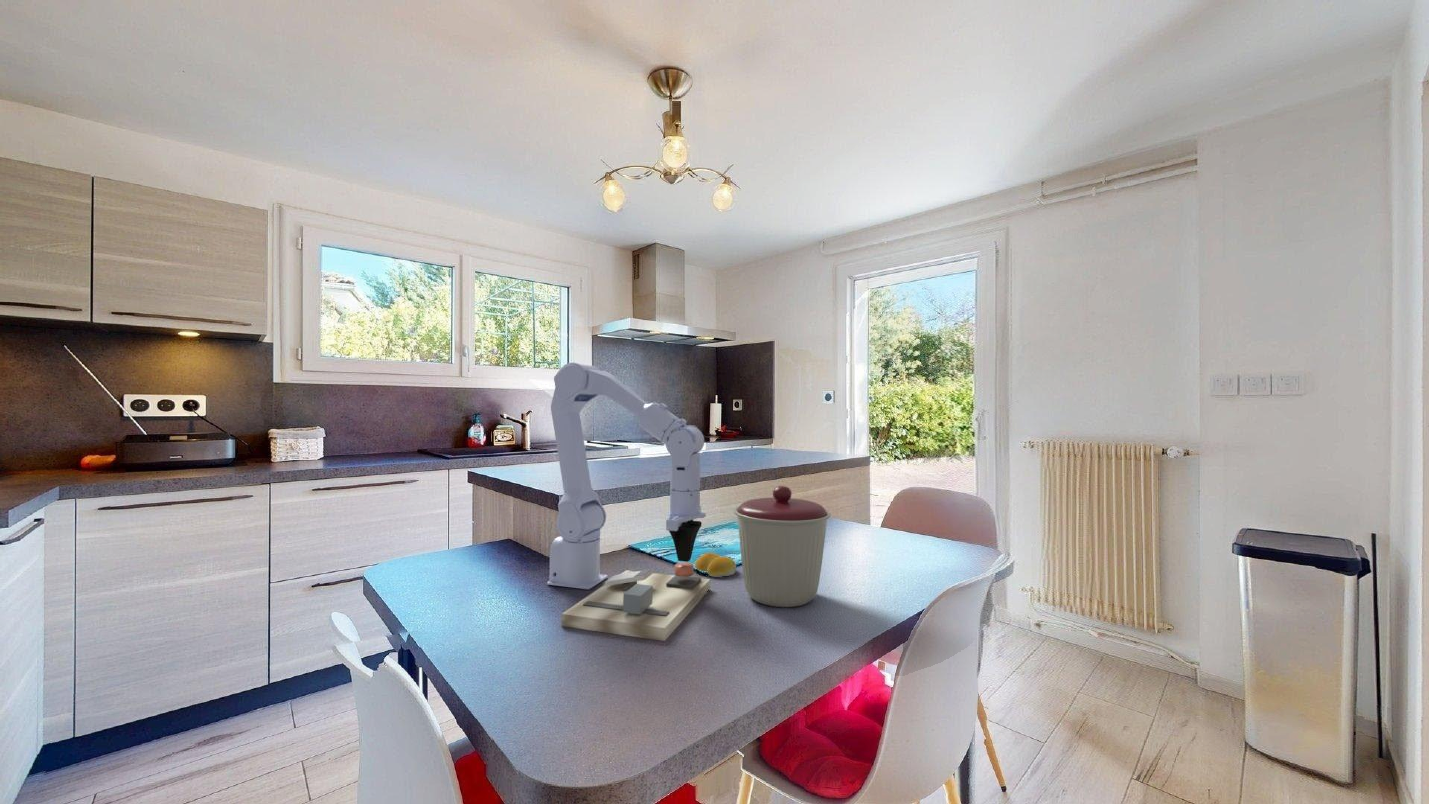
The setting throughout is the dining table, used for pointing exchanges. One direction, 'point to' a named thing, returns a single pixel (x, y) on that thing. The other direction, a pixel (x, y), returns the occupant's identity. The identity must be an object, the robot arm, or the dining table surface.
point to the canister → (781, 548)
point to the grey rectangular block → (637, 599)
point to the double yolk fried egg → (715, 564)
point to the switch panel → (655, 622)
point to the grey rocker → (629, 577)
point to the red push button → (684, 569)
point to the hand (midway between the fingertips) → (684, 560)
